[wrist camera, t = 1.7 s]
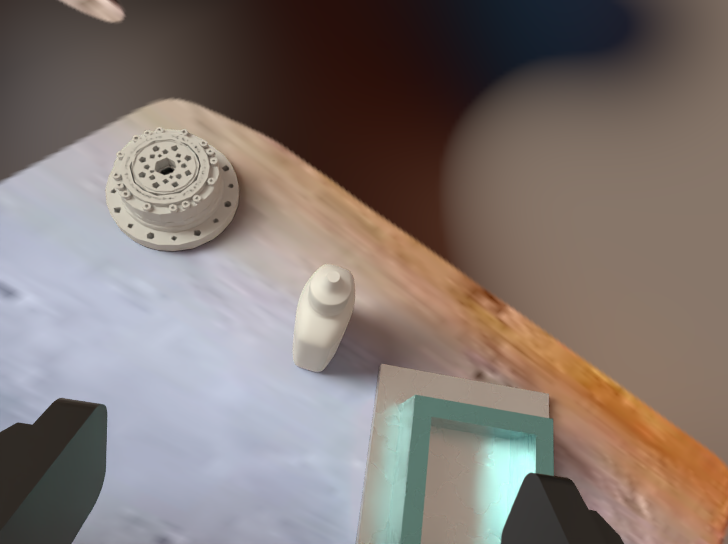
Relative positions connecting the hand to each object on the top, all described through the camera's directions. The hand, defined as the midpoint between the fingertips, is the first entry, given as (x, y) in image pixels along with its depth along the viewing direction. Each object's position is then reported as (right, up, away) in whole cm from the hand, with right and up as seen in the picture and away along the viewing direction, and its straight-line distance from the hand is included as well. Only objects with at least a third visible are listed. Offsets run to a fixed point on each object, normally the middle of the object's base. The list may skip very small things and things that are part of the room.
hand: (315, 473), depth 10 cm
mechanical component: (-14, +10, +31) cm, 36 cm away
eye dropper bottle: (-3, -1, +29) cm, 29 cm away
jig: (+7, -12, +25) cm, 29 cm away
